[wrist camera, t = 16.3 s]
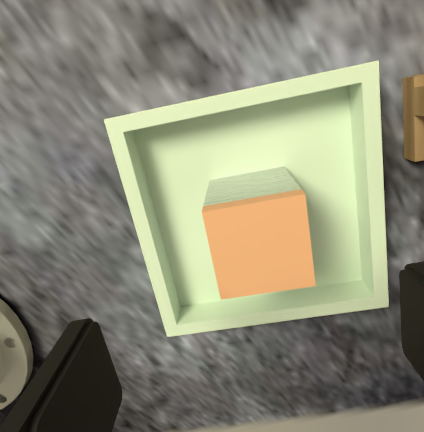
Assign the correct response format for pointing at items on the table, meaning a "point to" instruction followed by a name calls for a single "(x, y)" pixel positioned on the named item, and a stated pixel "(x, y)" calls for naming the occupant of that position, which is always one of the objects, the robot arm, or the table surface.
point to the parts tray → (251, 162)
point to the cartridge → (258, 233)
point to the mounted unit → (413, 117)
